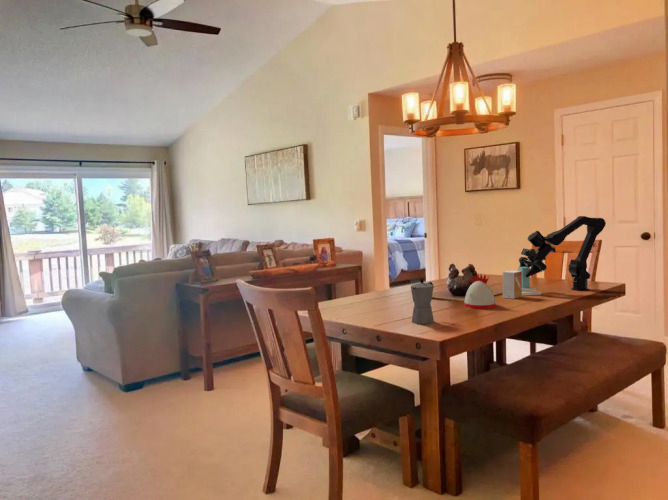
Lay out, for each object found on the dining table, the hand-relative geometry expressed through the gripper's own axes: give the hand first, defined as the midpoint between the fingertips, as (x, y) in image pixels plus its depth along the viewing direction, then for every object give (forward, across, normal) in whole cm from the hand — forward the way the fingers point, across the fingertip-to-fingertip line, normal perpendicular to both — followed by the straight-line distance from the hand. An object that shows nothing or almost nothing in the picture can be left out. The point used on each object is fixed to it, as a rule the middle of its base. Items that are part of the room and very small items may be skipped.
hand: (521, 275), depth 268 cm
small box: (+13, +8, 0) cm, 16 cm away
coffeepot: (+54, +46, -41) cm, 82 cm away
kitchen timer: (+30, +23, -16) cm, 41 cm away
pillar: (+4, 0, +6) cm, 8 cm away
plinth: (+6, 0, +8) cm, 9 cm away
